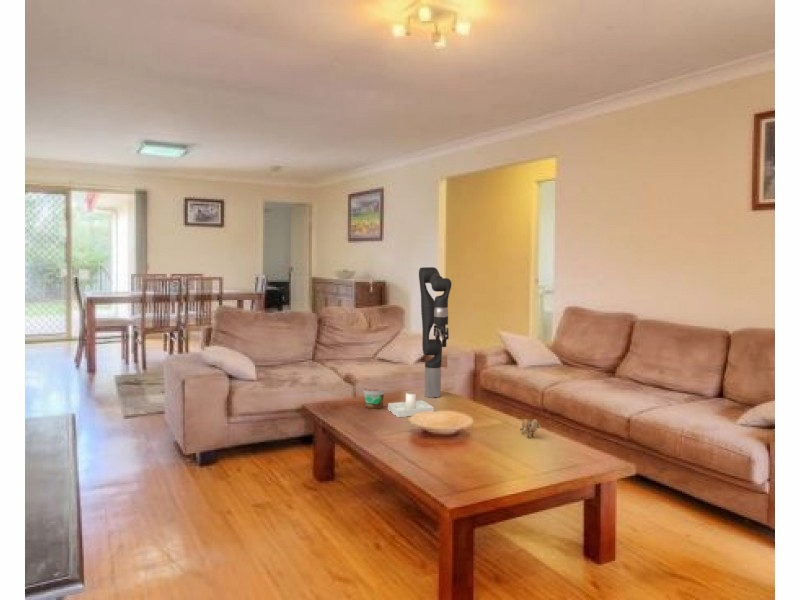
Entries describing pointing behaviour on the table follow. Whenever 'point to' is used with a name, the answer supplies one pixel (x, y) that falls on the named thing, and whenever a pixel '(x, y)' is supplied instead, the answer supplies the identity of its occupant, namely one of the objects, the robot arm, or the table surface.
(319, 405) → the table surface
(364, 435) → the table surface
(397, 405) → the tray
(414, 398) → the cup
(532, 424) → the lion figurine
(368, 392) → the food container
